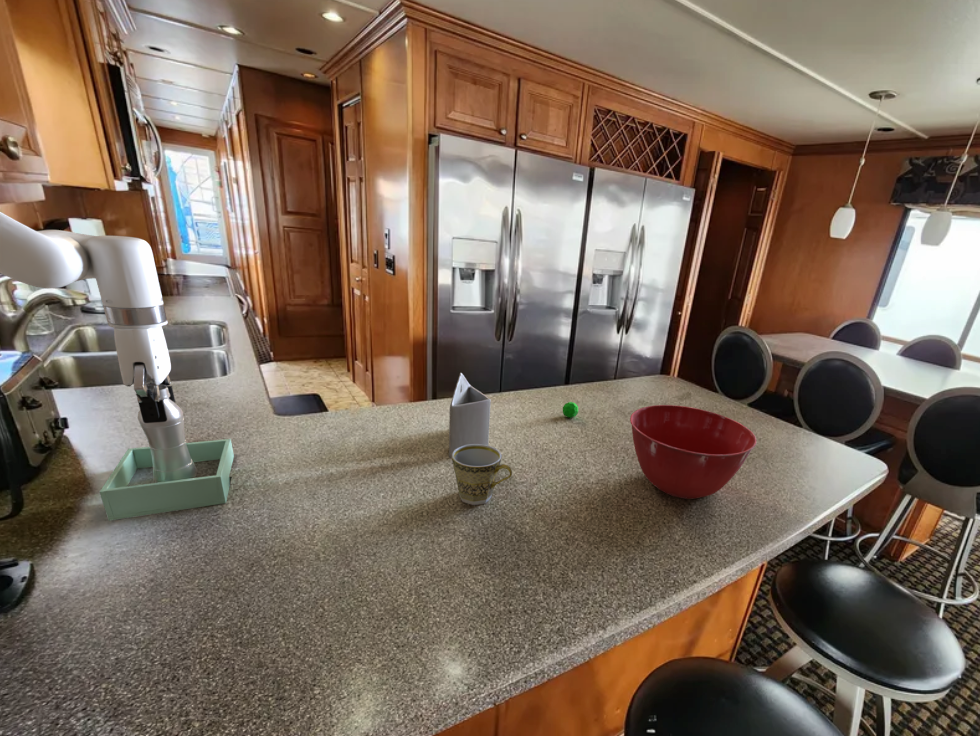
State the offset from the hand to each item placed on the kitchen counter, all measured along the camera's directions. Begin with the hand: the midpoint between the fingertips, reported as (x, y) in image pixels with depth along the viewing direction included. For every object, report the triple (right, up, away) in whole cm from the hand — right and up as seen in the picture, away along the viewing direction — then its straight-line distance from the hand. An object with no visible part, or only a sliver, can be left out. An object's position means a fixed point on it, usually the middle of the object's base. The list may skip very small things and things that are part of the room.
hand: (160, 413), depth 83 cm
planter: (+50, -9, +36) cm, 62 cm away
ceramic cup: (+56, -18, +14) cm, 61 cm away
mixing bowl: (+102, -17, +28) cm, 107 cm away
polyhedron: (+76, -1, +61) cm, 97 cm away
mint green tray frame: (-2, -15, +6) cm, 16 cm away
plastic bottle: (-2, -14, +6) cm, 15 cm away
